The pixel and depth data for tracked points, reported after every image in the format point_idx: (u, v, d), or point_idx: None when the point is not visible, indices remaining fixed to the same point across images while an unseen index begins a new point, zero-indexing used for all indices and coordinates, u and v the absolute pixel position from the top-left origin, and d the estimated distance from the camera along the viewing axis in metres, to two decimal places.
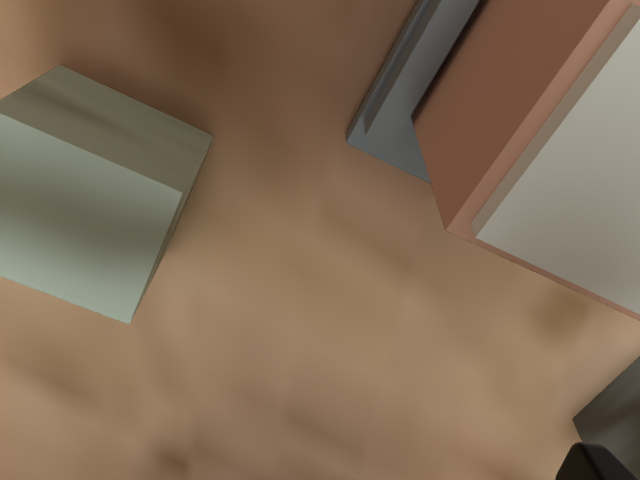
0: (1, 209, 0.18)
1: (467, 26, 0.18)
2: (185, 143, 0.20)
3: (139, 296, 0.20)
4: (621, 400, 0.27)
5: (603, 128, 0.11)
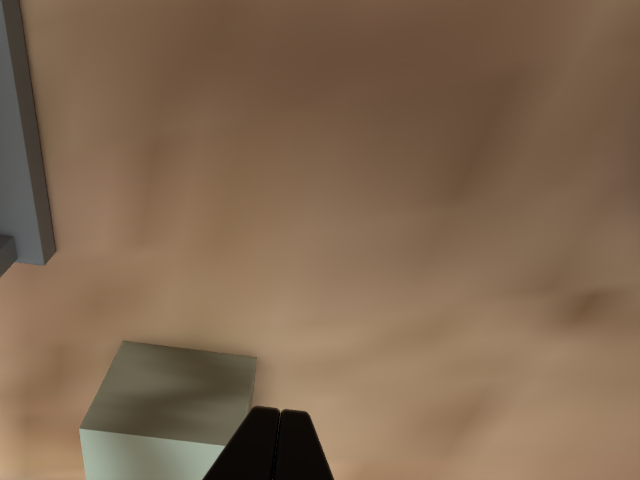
0: None
1: None
2: None
3: (201, 443, 0.21)
4: None
5: None
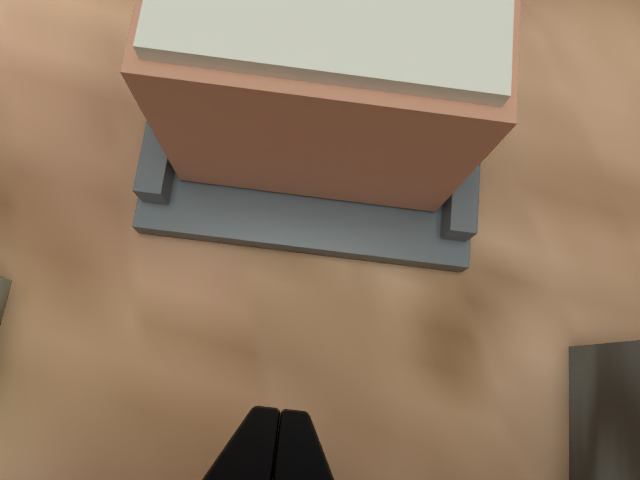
0: None
1: None
2: None
3: None
4: (584, 430, 0.20)
5: None
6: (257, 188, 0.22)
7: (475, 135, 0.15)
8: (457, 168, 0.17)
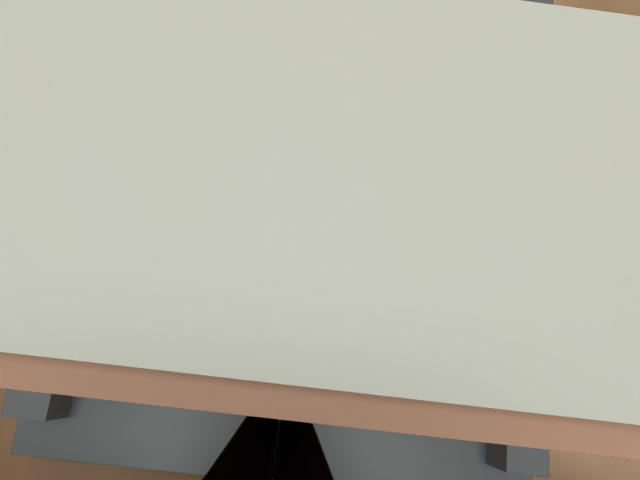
0: None
1: None
2: None
3: None
4: None
5: (2, 75, 0.07)
6: None
7: None
8: None
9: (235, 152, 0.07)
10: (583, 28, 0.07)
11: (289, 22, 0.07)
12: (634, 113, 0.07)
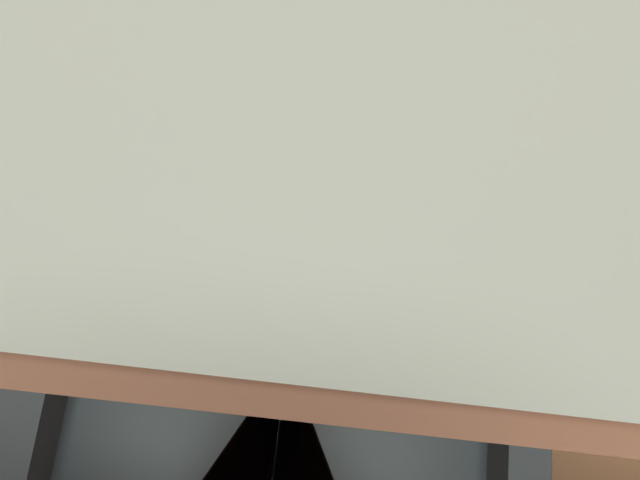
0: None
1: None
2: None
3: None
4: None
5: None
6: None
7: None
8: None
9: (229, 142, 0.06)
10: (590, 14, 0.07)
11: (286, 7, 0.07)
12: None
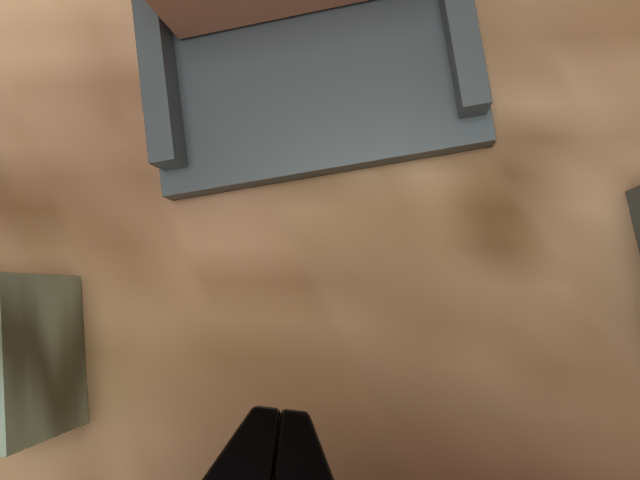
0: None
1: None
2: None
3: (3, 411, 0.18)
4: None
5: None
6: (250, 23, 0.22)
7: None
8: None
9: None
10: None
11: None
12: None
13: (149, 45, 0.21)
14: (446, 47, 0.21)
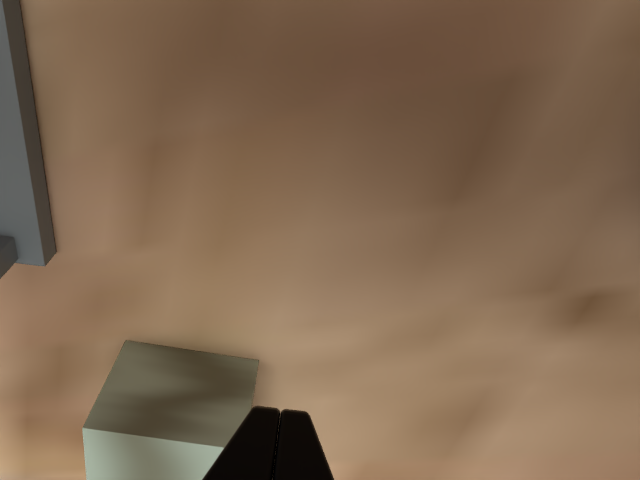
0: None
1: None
2: None
3: (204, 445, 0.21)
4: None
5: None
6: None
7: None
8: None
9: None
10: None
11: None
12: None
13: None
14: None
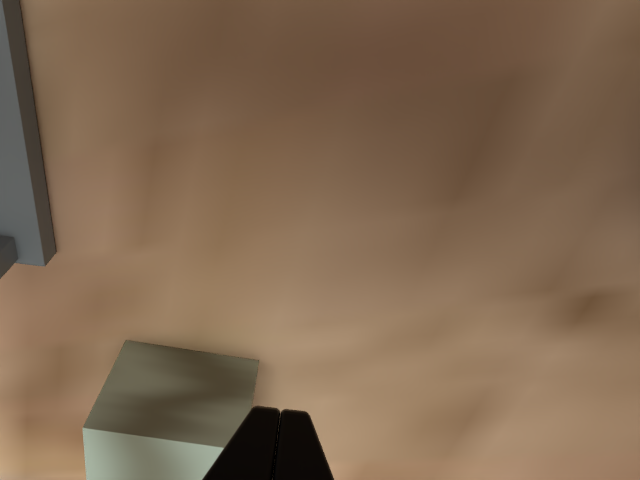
0: None
1: None
2: None
3: (205, 445, 0.21)
4: None
5: None
6: None
7: None
8: None
9: None
10: None
11: None
12: None
13: None
14: None
